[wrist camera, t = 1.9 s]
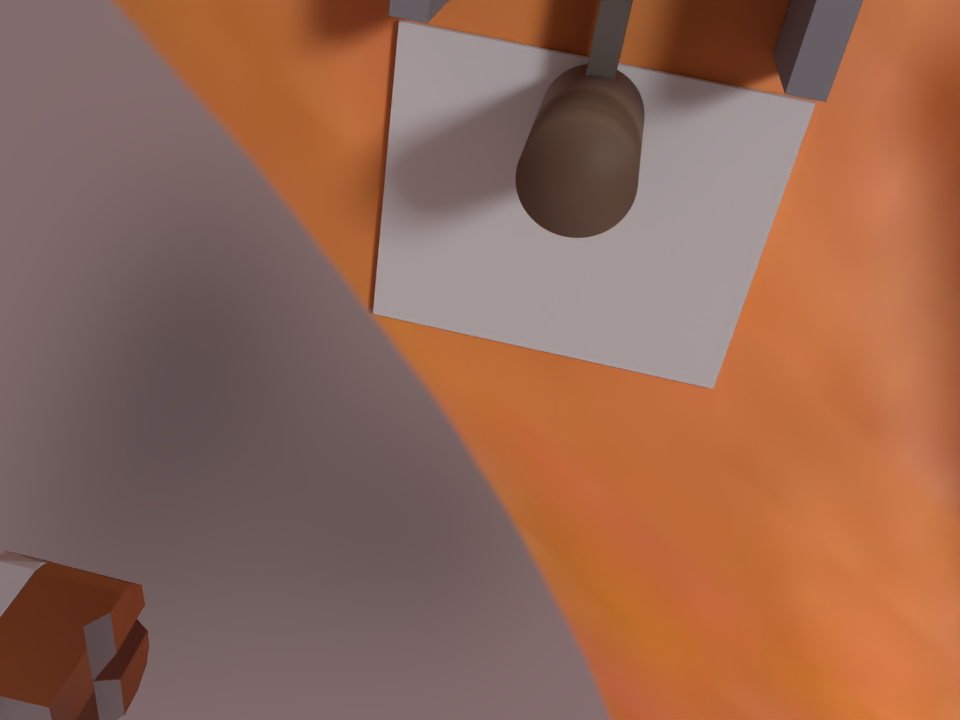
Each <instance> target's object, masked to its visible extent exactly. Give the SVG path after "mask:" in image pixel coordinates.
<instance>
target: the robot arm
mask: <svg viewBox="0 0 960 720" xmlns="http://www.w3.org/2000/svg"><path fill="white" fill-rule="evenodd" d="M144 606H145V601H144V595H143V589H142V585H140V584H136V583H132V582H128V581H124V580H120V579H116V578H112V577H108V576H104V575H100V574H97V573H93V572H89V571H85V570H81V569H77V568H72V567H69V566H65V565H61V564H57V563H53V562H51V561H47V560H43V559H38V558H34V557H30V556H26V555H21V554H17V553H13V552H8V551H5V552H3V553H2V554H0V720H117V719H119V718H120V717H122V716H123V715H125V713H126V711H127V709H128V708H129V706H130V704H131V702H132V700H133V698H134V696H135V694H136V692H137V691H138V688H139V685H140V682H141V679H142V676H143V673H144V670H145V667H146V664H147V657H148V649H149V639H148V631H147V630H146V629H145V627H144V626H143V625H142V624H141V623H140V622H139V621H138V620H137V618H138V616H139V614H140V613H141V611H142V609H143V607H144Z"/></svg>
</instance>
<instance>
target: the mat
mask: <svg viewBox="0 0 960 720" xmlns="http://www.w3.org/2000/svg"><path fill="white" fill-rule="evenodd" d="M588 61H589V57H587V56H582V55H577V54H572V53H566V52H561V51H556V50H551V49H546V48H541V47H536V46H531V45H526V44H521V43H516V42H511V41H506V40H501V39H496V38H491V37H486V36H480V35H475V34H470V33H465V32H460V31H455V30H450V29H445V28H440V27H435V26H430V25H425V24H420V23H415V22H410V21H405V20H400V21H399V26H398V37H397V48H396V59H395V71H394V82H393V93H392V104H391V116H390V127H389V138H388V149H387V161H386V172H385V183H384V195H383V206H382V217H381V228H380V240H379V251H378V262H377V273H376V285H375V296H374V307H373V314H377V315H381V316H386V317H390V318H395V319H399V320H404V321H408V322H413V323H417V324H422V325H426V326H431V327H435V328H440V329H444V330H449V331H454V332H458V333H463V334H467V335H472V336H476V337H481V338H485V339H490V340H494V341H499V342H503V343H508V344H512V345H517V346H521V347H526V348H530V349H535V350H540V351H544V352H549V353H553V354H558V355H562V356H567V357H571V358H576V359H580V360H585V361H589V362H594V363H598V364H603V365H607V366H612V367H616V368H621V369H625V370H630V371H635V372H639V373H644V374H648V375H653V376H657V377H662V378H666V379H671V380H675V381H680V382H684V383H689V384H693V385H698V386H702V387H707V388H711V389H713V388H714V385H715V383H716V380H717V377H718V374H719V371H720V369H721V366H722V363H723V360H724V357H725V355H726V352H727V349H728V346H729V344H730V341H731V338H732V335H733V332H734V330H735V327H736V324H737V321H738V318H739V316H740V313H741V310H742V307H743V305H744V302H745V299H746V296H747V293H748V291H749V288H750V285H751V282H752V279H753V277H754V274H755V271H756V268H757V266H758V263H759V260H760V257H761V254H762V252H763V249H764V246H765V243H766V240H767V238H768V235H769V232H770V229H771V227H772V224H773V221H774V218H775V215H776V213H777V210H778V207H779V204H780V201H781V199H782V196H783V193H784V190H785V188H786V185H787V182H788V179H789V176H790V174H791V171H792V168H793V165H794V162H795V160H796V157H797V154H798V151H799V149H800V146H801V143H802V140H803V137H804V135H805V132H806V129H807V126H808V123H809V121H810V118H811V115H812V112H813V110H814V107H815V102H814V101H809V100H804V99H799V98H794V97H789V96H784V95H779V94H774V93H769V92H764V91H759V90H754V89H749V88H744V87H739V86H733V85H728V84H723V83H718V82H713V81H708V80H703V79H698V78H693V77H688V76H683V75H678V74H673V73H668V72H663V71H658V70H653V69H647V68H642V67H637V66H632V65H627V64H622V63H618V68H617V70H618V71H620V72H622V73H623V74H624V75H626V76H627V77H628V78H629V79H630V80H631V81H632V82H633V83H634V85H635V86H636V87H637V89H638V91H639V93H640V95H641V98H642V100H643V105H644V127H643V138H642V148H641V159H640V169H639V180H638V189H637V194H636V197H635V200H634V203H633V205H632V207H631V209H630V210H629V212H628V213H627V215H626V216H625V217H624V218H623V219H622V220H621V221H620V222H619V223H618V224H617V225H616V226H614V227H613V228H611V229H610V230H608V231H606V232H604V233H601V234H598V235H595V236H591V237H585V238H570V237H564V236H560V235H557V234H554V233H552V232H549V231H548V230H546V229H544V228H542V227H541V226H540V225H538V224H537V223H536V222H535V221H534V220H533V219H531V217H530V216H529V215H528V214H527V213H526V211H525V210H524V208H523V206H522V204H521V202H520V200H519V197H518V194H517V190H516V180H515V176H516V168H517V164H518V161H519V159H520V156H521V154H522V151H523V149H524V146H525V144H526V141H527V139H528V136H529V133H530V131H531V128H532V126H533V123H534V121H535V118H536V116H537V113H538V111H539V108H540V106H541V103H542V101H543V98H544V96H545V93H546V92H547V90H548V88H549V87H550V85H551V84H552V83H553V81H554V80H555V79H556V78H557V77H559V76H560V75H561V74H562V73H564V72H566V71H567V70H569V69H571V68H574V67H576V66H580V65H585V64H588Z"/></svg>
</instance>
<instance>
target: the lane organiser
mask: <svg viewBox="0 0 960 720" xmlns="http://www.w3.org/2000/svg"><path fill="white" fill-rule="evenodd" d="M448 1H449V0H390V6H389V16H393V17H398V18H403V19H408V20H413V21H418V22H424V23H428V22H429V21H430V20H431V19H432V18H433V17H434V16H435V15H436V14H437V12H438V11H439V10H440V9H441V8H442V7H443V6H444V5H445V4H446V3H447V2H448ZM862 2H863V0H791V1H790V4H789V7H788V10H787V13H786V16H785V20H784V23H783V26H782V29H781V32H780V35H779V38H778V41H777V44H776V48H775V51H774V54H773V57H774V60H775V64H776V67H777V70H778V73H779V76H780V79H781V83H782V86H783V89H784V92H785V94H788V95H793V96H798V97H803V98H808V99H813V100H819V101H824V102H826V101H827V98H828V95H829V93H830V90H831V87H832V84H833V82H834V79H835V76H836V73H837V71H838V68H839V65H840V62H841V60H842V57H843V54H844V51H845V49H846V46H847V43H848V41H849V38H850V35H851V32H852V30H853V27H854V24H855V21H856V19H857V16H858V13H859V10H860V8H861V5H862Z"/></svg>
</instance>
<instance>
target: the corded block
mask: <svg viewBox="0 0 960 720" xmlns="http://www.w3.org/2000/svg"><path fill="white" fill-rule="evenodd" d="M632 2H633V0H601V3H600V8H599V13H598V18H597V22H596V27H595V32H594V37H593V42H592V46H591V51H590V56H589V61H588V64H585V65H580V66H576V67H574V68H571V69H569V70H567V71H566V72H564V73H562V74H561V75H560V76H559V77H557V78H556V79H555V80H554V81H553V83H552V84H551V85H550V87H549V88H548V90H547V92H546V93H545V96H544V98H543V101H542V103H541V106H540V108H539V111H538V113H537V116H536V118H535V121H534V123H533V126H532V128H531V131H530V133H529V136H528V139H527V141H526V144H525V146H524V149H523V151H522V154H521V156H520V159H519V161H518V164H517V168H516V176H515V180H516V190H517V194H518V197H519V200H520V202H521V204H522V206H523V208H524V210H525V211H526V213H527V214H528V215H529V216H530V217H531V219H533V220H534V221H535V222H536V223H537V224H538V225H540V226H541V227H542V228H544V229H546V230H548V231H549V232H552V233H554V234H557V235H560V236H564V237H570V238H585V237H591V236H595V235H598V234H601V233H604V232H606V231H608V230H610V229H611V228H613V227H614V226H616V225H617V224H618V223H619V222H620V221H621V220H622V219H623V218H624V217H625V216H626V215H627V213H628V212H629V210H630V209H631V207H632V205H633V203H634V200H635V197H636V194H637V189H638V180H639V169H640V159H641V148H642V138H643V127H644V105H643V100H642V98H641V95H640V93H639V91H638V89H637V87H636V86H635V85H634V83H633V82H632V81H631V80H630V79H629V78H628V77H627V76H626V75H624V74H623V73H622V72H620V71H618V70H617V68H618V63H619V59H620V55H621V50H622V46H623V41H624V37H625V33H626V28H627V24H628V19H629V15H630V11H631V6H632Z"/></svg>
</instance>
